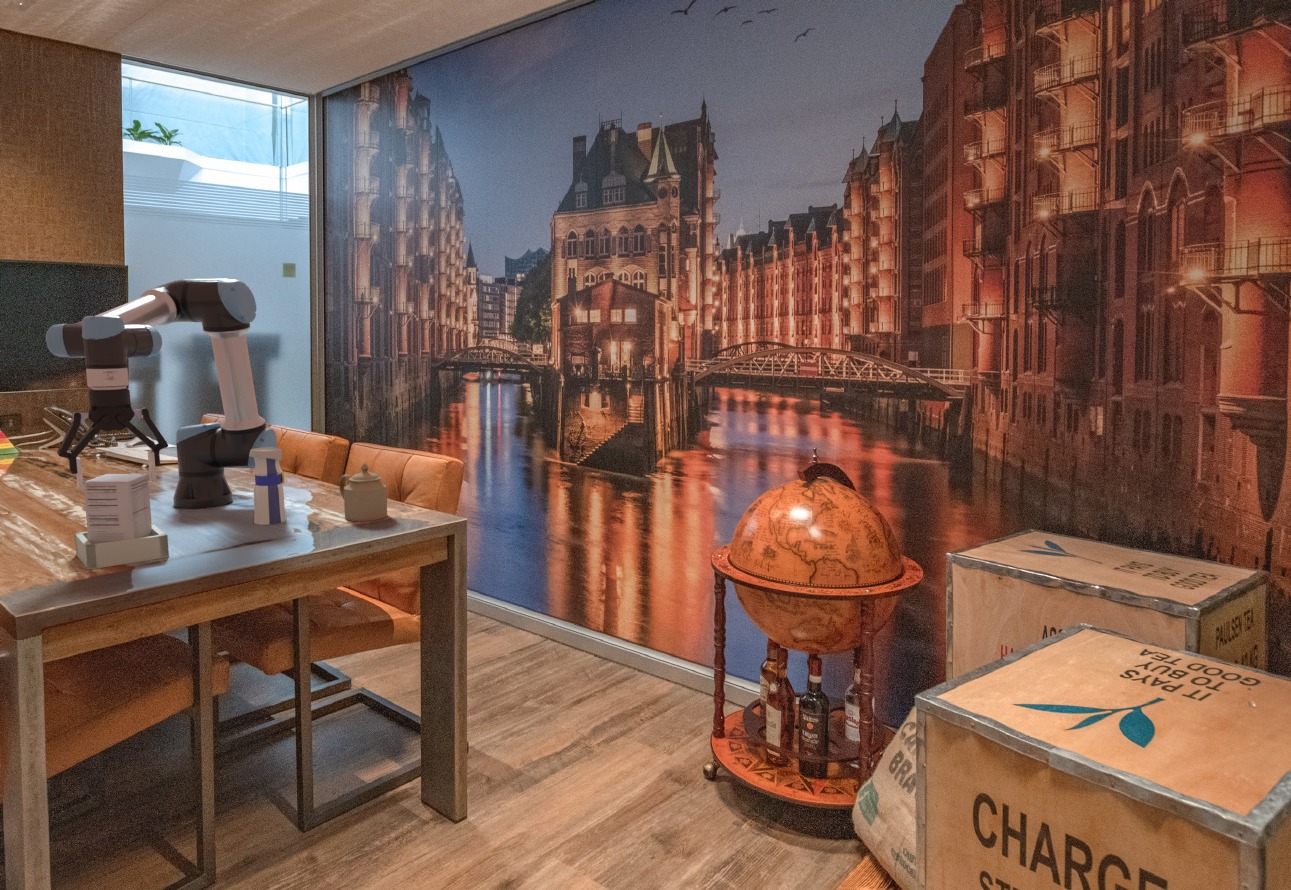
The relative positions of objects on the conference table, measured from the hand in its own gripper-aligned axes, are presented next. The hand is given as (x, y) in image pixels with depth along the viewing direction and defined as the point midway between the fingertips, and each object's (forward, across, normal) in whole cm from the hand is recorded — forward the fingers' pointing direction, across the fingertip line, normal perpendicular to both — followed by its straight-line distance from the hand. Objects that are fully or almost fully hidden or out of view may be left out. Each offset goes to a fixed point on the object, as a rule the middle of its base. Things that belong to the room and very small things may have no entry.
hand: (117, 484), depth 178 cm
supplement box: (+15, 0, -1) cm, 15 cm away
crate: (+16, 0, 0) cm, 16 cm away
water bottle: (+17, +36, +14) cm, 42 cm away
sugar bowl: (+17, +56, +4) cm, 58 cm away
